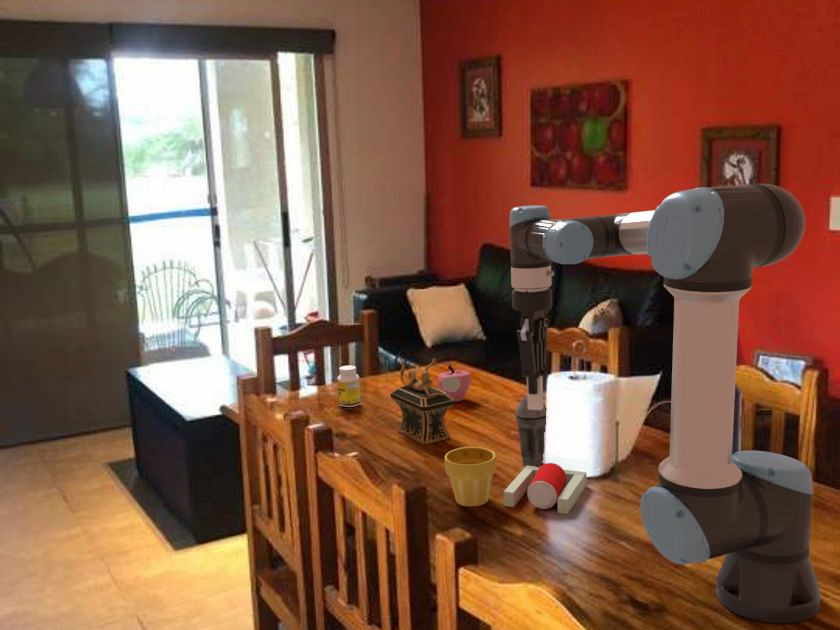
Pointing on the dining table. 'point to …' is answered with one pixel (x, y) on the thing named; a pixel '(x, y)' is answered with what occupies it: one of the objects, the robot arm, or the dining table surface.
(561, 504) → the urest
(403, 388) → the decorative box
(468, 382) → the apple
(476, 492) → the plant pot
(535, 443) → the beverage cup
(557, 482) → the beverage can
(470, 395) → the dining table surface
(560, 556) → the dining table surface
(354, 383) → the pill bottle
